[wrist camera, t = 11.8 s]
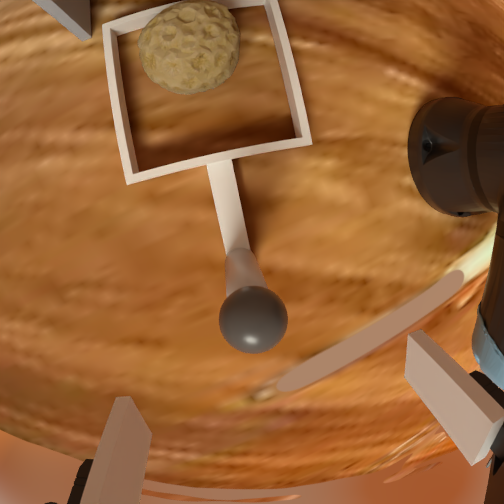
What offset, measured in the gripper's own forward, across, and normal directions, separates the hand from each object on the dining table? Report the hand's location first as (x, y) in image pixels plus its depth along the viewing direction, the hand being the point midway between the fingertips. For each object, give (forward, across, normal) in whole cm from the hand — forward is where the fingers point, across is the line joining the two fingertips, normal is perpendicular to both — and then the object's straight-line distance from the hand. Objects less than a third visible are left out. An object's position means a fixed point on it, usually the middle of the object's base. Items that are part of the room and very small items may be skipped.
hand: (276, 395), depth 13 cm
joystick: (+21, 0, -13) cm, 24 cm away
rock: (+21, +1, -22) cm, 31 cm away
